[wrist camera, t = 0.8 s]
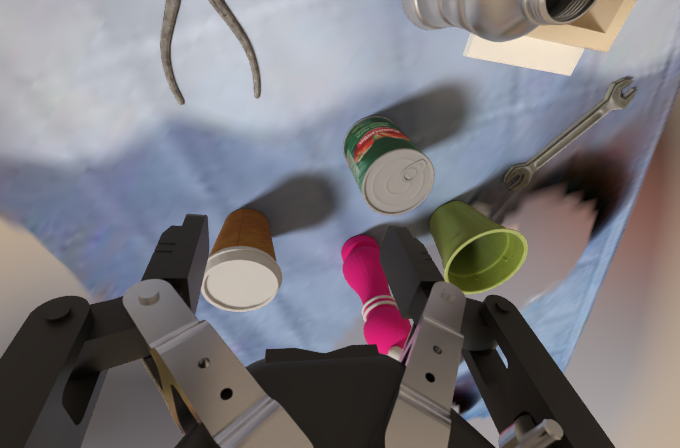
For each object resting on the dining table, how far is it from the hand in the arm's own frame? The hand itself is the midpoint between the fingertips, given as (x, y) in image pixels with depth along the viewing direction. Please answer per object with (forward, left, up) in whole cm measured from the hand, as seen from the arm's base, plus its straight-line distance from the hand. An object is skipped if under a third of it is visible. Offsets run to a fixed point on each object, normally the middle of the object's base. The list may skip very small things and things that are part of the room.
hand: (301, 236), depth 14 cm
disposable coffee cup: (+19, -4, -27) cm, 34 cm away
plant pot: (+16, +28, -27) cm, 42 cm away
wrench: (+1, +41, -28) cm, 49 cm away
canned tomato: (+5, +12, -27) cm, 30 cm away
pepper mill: (+23, +14, -27) cm, 39 cm away
